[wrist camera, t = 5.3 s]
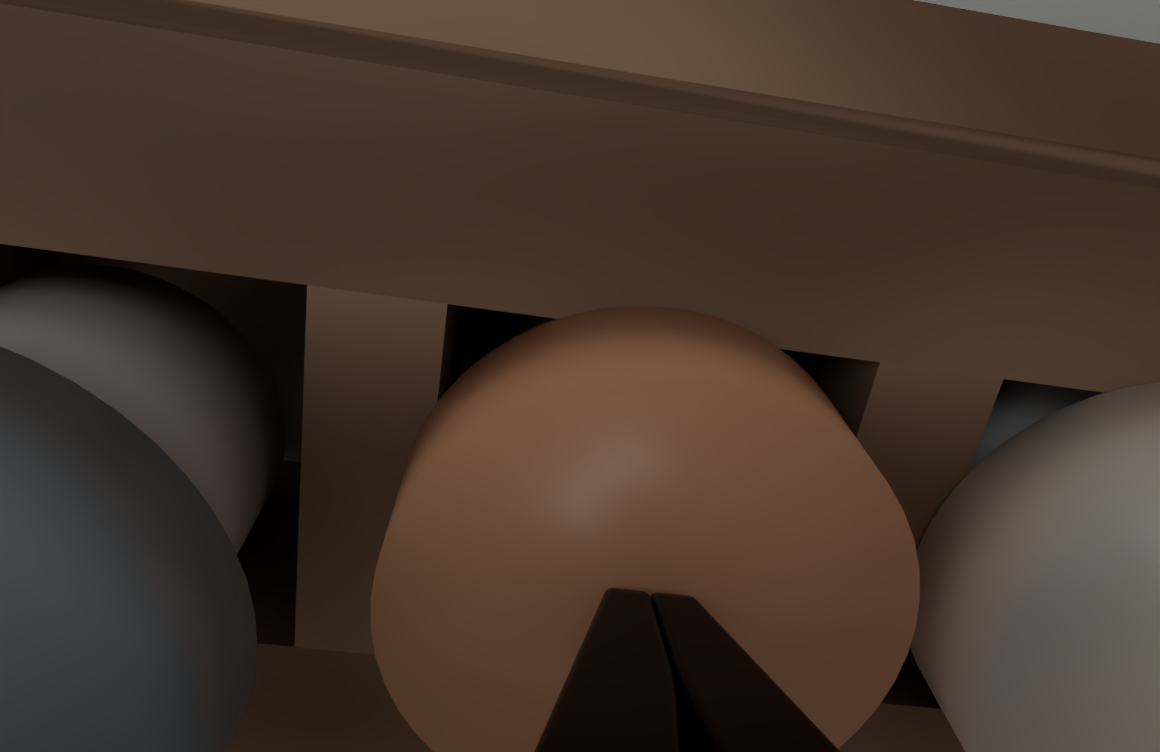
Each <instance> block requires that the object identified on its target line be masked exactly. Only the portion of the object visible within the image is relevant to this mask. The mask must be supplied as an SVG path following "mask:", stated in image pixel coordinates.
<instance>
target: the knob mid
mask: <svg viewBox="0 0 1160 752" xmlns="http://www.w3.org/2000/svg"><path fill="white" fill-rule="evenodd" d="M609 588H622V589H631V590H640V591H644V592H646V593H648V594H649V596H651V595H652V594H654V593H656V592H660V593H669V594H679V595H688V596H692V597H694V598H695V599H696V600H697V601H698V602H699V603H700V604H701V605H702V606H703V607H704V608H705V609H706V610H707V611H708V612H709V613H710V614H711V615H712V616H713V617H714V618H715V619H716V621H717V622H718V623H719V624H720V625H721V626H722V627H723V628H724V629H725V630H726V631H727V632H728V633H729V634H730V635H731V636H732V637H733V638H734V640H735V641H736V642H737V643H738V644H739V645H740V646H741V647H742V648H743V649H744V650H745V651H746V652H747V653H748V654H749V655H750V656H751V657H752V659H753V660H754V661H755V662H756V663H757V664H758V665H759V666H760V667H761V668H762V669H763V670H764V671H765V672H766V673H767V674H768V675H769V676H770V678H771V679H772V680H773V681H774V682H775V683H776V684H777V685H778V686H779V687H780V688H781V689H782V690H783V691H784V692H785V693H786V694H787V695H788V696H789V698H790V699H791V700H792V701H793V702H794V703H795V704H796V705H797V706H798V707H799V708H800V709H801V710H802V711H803V712H804V713H805V714H806V715H807V717H808V718H809V719H810V720H811V721H812V722H813V723H814V724H815V725H816V726H817V727H818V728H819V729H820V730H821V731H822V732H823V733H824V734H825V736H826V737H827V738H828V739H829V740H830V741H831V742H832V743H833V744H834V745H835V746H836V747H837V748H838V749H839V748H840V747H841V746H842V745H843V744H844V743H845V742H846V741H847V740H848V739H849V738H850V737H851V736H853V735H854V734H855V733H856V732H857V731H858V730H859V729H860V728H861V727H862V725H863V724H864V723H865V722H866V721H867V720H868V718H869V717H870V716H871V715H872V714H873V712H874V711H875V710H876V709H877V708H878V706H879V705H880V704H881V702H882V700H883V699H884V697H885V696H886V694H887V693H888V691H889V690H890V688H891V686H892V685H893V683H894V682H895V680H896V678H897V676H898V674H899V672H900V669H901V667H902V665H903V663H904V661H905V659H906V657H907V654H908V651H909V648H910V645H911V641H912V638H913V635H914V631H915V628H916V623H917V616H918V609H919V602H920V568H919V563H918V557H917V552H916V546H915V541H914V537H913V535H912V532H911V529H910V527H909V524H908V521H907V518H906V516H905V513H904V510H903V509H902V507H901V505H900V503H899V502H898V500H897V498H896V496H895V494H894V493H893V491H892V489H891V487H890V486H889V484H888V482H887V481H886V480H885V478H884V477H883V475H882V474H881V472H880V471H879V470H878V468H877V467H876V465H875V464H874V462H873V461H872V460H871V458H870V457H869V455H868V454H867V452H866V451H865V450H864V448H863V447H862V445H861V444H860V442H859V441H858V440H857V438H856V437H855V435H854V434H853V432H852V431H851V430H850V428H849V427H848V425H847V424H846V422H845V421H844V420H843V418H842V417H841V415H840V414H839V412H838V411H837V410H836V408H835V407H834V405H833V404H832V402H831V401H830V400H829V398H828V397H827V396H826V394H825V393H824V392H823V391H822V389H821V388H820V387H819V386H818V384H817V383H816V382H815V381H814V379H813V378H812V377H811V376H810V375H809V374H808V373H807V372H806V371H805V370H804V369H803V368H802V367H801V366H800V365H799V364H797V363H796V362H795V361H794V360H793V359H792V358H791V357H790V356H789V355H787V354H786V353H784V352H783V351H781V350H780V349H778V348H777V347H776V346H774V345H773V344H771V343H770V342H768V341H767V340H765V339H764V338H762V337H760V336H758V335H756V334H754V333H752V332H750V331H748V330H746V329H744V328H742V327H740V326H738V325H735V324H732V323H729V322H726V321H723V320H721V319H718V318H715V317H712V316H709V315H705V314H700V313H695V312H691V311H686V310H681V309H676V308H663V307H650V306H632V307H612V308H604V309H599V310H593V311H587V312H582V313H576V314H573V315H569V316H566V317H563V318H560V319H555V318H547V317H540V316H533V315H525V314H518V313H514V314H513V315H512V317H511V318H510V319H509V320H508V321H507V322H506V324H505V325H504V327H503V328H502V329H501V331H500V332H499V334H498V336H497V338H496V340H495V342H494V343H493V345H492V347H491V350H490V352H489V353H487V354H486V355H485V356H484V357H482V358H481V359H480V360H479V361H477V362H476V363H475V364H474V365H472V366H471V367H470V368H469V369H468V370H466V371H465V372H464V373H463V374H462V375H461V376H460V377H459V378H458V379H457V380H456V381H455V382H454V383H453V384H452V386H451V387H450V388H449V389H448V390H447V391H446V392H445V393H444V394H443V395H442V397H441V398H440V399H439V401H438V402H437V404H436V405H435V407H434V408H433V409H432V411H431V412H430V414H429V415H428V416H427V418H426V419H425V421H424V423H423V425H422V427H421V429H420V431H419V433H418V435H417V437H416V439H415V441H414V443H413V446H412V449H411V452H410V455H409V458H408V461H407V464H406V467H405V470H404V473H403V477H402V480H401V484H400V487H399V490H398V494H397V497H396V501H395V504H394V508H393V511H392V514H391V518H390V521H389V525H388V528H387V531H386V535H385V538H384V542H383V545H382V549H381V552H380V555H379V559H378V562H377V566H376V569H375V575H374V581H373V587H372V594H371V633H372V639H373V645H374V651H375V657H376V660H377V663H378V666H379V669H380V672H381V675H382V678H383V681H384V683H385V686H386V688H387V690H388V691H389V693H390V695H391V697H392V699H393V701H394V703H395V705H396V707H397V709H398V710H399V712H400V713H401V714H402V716H403V717H404V719H405V720H406V721H407V723H408V724H409V725H410V727H411V728H412V729H413V731H414V732H415V733H416V735H417V736H418V737H419V738H420V739H421V740H422V741H423V742H424V743H425V744H426V745H427V746H428V747H429V748H430V749H431V750H432V751H433V752H534V751H535V749H536V746H537V744H538V742H539V740H540V737H541V735H542V733H543V730H544V728H545V726H546V724H547V721H548V719H549V717H550V715H551V712H552V710H553V708H554V706H555V703H556V701H557V699H558V696H559V694H560V692H561V690H562V687H563V685H564V683H565V681H566V678H567V676H568V674H569V672H570V669H571V667H572V665H573V663H574V660H575V658H576V656H577V653H578V651H579V649H580V647H581V644H582V642H583V640H584V638H585V635H586V633H587V631H588V629H589V626H590V624H591V622H592V619H593V617H594V615H595V613H596V610H597V608H598V606H599V604H600V601H601V599H602V597H603V595H604V592H605V591H606V590H607V589H609Z"/></svg>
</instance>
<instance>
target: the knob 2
mask: <svg viewBox="0 0 1160 752" xmlns="http://www.w3.org/2000/svg"><path fill="white" fill-rule="evenodd" d="M916 552H917V557H918V563H919V568H920V602H919V609H918V616H917V623H916V628H915V631H914V635H913V638H912V641H911V645H910V648H911V651H912V653H913V656H914V659H915V661H916V664H917V666H918V668H919V669H920V671H921V673H922V675H923V677H924V678H925V680H926V682H927V684H928V686H929V687H930V689H931V691H932V693H933V695H934V696H935V698H936V700H937V702H938V704H939V705H940V707H941V709H942V711H943V713H944V714H945V716H946V718H947V720H948V722H949V723H950V725H951V727H952V729H953V731H954V733H955V734H956V736H957V738H958V740H959V742H960V743H961V745H962V747H963V749H964V751H965V752H1160V382H1155V383H1149V384H1143V385H1137V386H1131V387H1125V388H1121V389H1117V390H1113V391H1110V392H1106V393H1103V392H1096V391H1088V390H1081V389H1073V388H1066V387H1059V386H1051V385H1044V384H1036V383H1029V382H1022V381H1014V380H1007V379H1003V382H1002V385H1001V387H1000V390H999V393H998V395H997V398H996V401H995V403H994V406H993V408H992V411H991V414H990V416H989V419H988V422H987V424H986V427H985V430H984V432H983V435H982V437H981V440H980V443H979V445H978V448H977V451H976V453H975V456H974V459H973V461H972V464H971V466H970V469H969V472H968V474H967V476H966V477H965V478H964V479H963V480H962V481H961V482H960V483H959V484H958V485H957V486H956V487H955V489H954V490H953V491H952V492H951V494H950V495H949V496H948V498H947V499H946V500H945V501H944V503H943V504H942V505H941V506H940V508H939V509H938V511H937V513H936V514H935V516H934V518H933V519H932V521H931V523H930V524H929V526H928V528H927V529H926V531H925V533H924V535H923V537H922V540H921V542H920V544H919V546H918V549H917V551H916Z"/></svg>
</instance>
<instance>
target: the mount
mask: <svg viewBox="0 0 1160 752" xmlns="http://www.w3.org/2000/svg"><path fill="white" fill-rule="evenodd" d="M74 264H97V265H110V266H116V267H121V268H126V269H131V270H136V271H139V272H142V273H145V274H149V275H152V276H155V277H158V278H160V279H163V280H165V281H167V282H169V283H172V284H174V285H176V286H178V287H181V288H182V289H184V290H186V291H188V292H189V293H191V294H193V295H194V296H196V297H198V298H200V299H201V300H203V301H204V302H205V303H207V304H208V305H209V306H211V307H212V308H214V309H215V310H216V311H218V312H219V313H220V314H221V315H223V316H224V317H225V318H226V319H227V320H228V321H229V322H230V323H231V324H232V325H233V326H234V327H236V328H237V329H238V330H239V332H240V333H241V334H242V335H243V336H244V337H245V339H246V340H247V341H248V342H249V343H250V344H251V346H252V347H253V348H254V350H255V351H256V353H257V354H258V356H259V357H260V359H261V360H262V362H263V363H264V365H265V367H266V369H267V371H268V373H269V375H270V377H271V379H272V381H273V383H274V385H275V388H276V391H277V394H278V397H279V399H280V402H281V407H282V412H283V417H284V424H285V448H284V457H283V462H282V465H281V469H280V473H279V476H278V478H277V481H276V483H275V485H274V487H273V490H272V492H271V494H270V495H269V497H268V499H267V501H266V503H265V505H264V506H263V508H262V510H261V512H260V514H259V516H258V517H257V519H256V521H255V523H254V525H253V526H252V528H251V530H250V532H249V534H248V536H247V537H246V539H245V541H244V543H243V545H242V547H241V548H240V550H239V552H238V554H237V556H238V559H239V561H240V564H241V566H242V569H243V571H244V574H245V576H246V579H247V582H248V586H249V591H250V595H251V599H252V603H253V608H254V612H255V621H256V635H257V655H256V665H255V675H254V680H253V684H252V687H251V691H250V695H249V698H248V702H247V705H246V708H245V711H244V713H243V715H242V718H241V720H240V723H239V725H238V727H237V730H236V732H235V735H234V737H233V739H232V742H231V744H230V747H229V749H228V751H227V752H433V751H432V750H431V749H430V748H429V747H428V746H427V745H426V744H425V743H424V742H423V741H422V740H421V739H420V738H419V737H418V736H417V735H416V733H415V732H414V731H413V729H412V728H411V727H410V725H409V724H408V723H407V721H406V720H405V719H404V717H403V716H402V714H401V713H400V712H399V710H398V709H397V707H396V705H395V703H394V701H393V699H392V697H391V695H390V693H389V691H388V690H387V688H386V686H385V683H384V681H383V678H382V675H381V672H380V669H379V666H378V663H377V660H376V657H375V651H374V645H373V639H372V633H371V594H372V587H373V581H374V575H375V569H376V566H377V562H378V559H379V555H380V552H381V549H382V545H383V542H384V538H385V535H386V531H387V528H388V525H389V521H390V518H391V514H392V511H393V508H394V504H395V501H396V497H397V494H398V490H399V487H400V484H401V480H402V477H403V473H404V470H405V467H406V464H407V461H408V458H409V455H410V452H411V449H412V446H413V443H414V441H415V439H416V437H417V435H418V433H419V431H420V429H421V427H422V425H423V423H424V421H425V419H426V418H427V416H428V415H429V414H430V412H431V411H432V409H433V408H434V407H435V405H436V404H437V402H438V401H439V399H440V398H441V397H442V395H443V394H444V393H445V392H446V391H447V390H448V389H449V388H450V387H451V386H452V384H453V383H454V382H455V381H456V380H457V379H458V378H459V377H460V376H461V375H462V374H463V373H464V372H465V371H466V370H468V369H469V368H470V367H471V366H472V365H474V364H475V363H476V362H477V361H479V360H480V359H481V358H482V357H484V356H485V355H486V354H487V353H489V352H490V350H491V347H492V345H493V343H494V342H495V340H496V338H497V336H498V334H499V332H500V331H501V329H502V328H503V327H504V325H505V324H506V322H507V321H508V320H509V319H510V318H511V317H512V315H513V314H514V313H518V314H525V315H533V316H540V317H547V318H555V319H560V318H563V317H566V316H569V315H573V314H576V313H582V312H587V311H593V310H599V309H604V308H612V307H632V306H650V307H663V308H676V309H681V310H686V311H691V312H695V313H700V314H705V315H709V316H712V317H715V318H718V319H721V320H723V321H726V322H729V323H732V324H735V325H738V326H740V327H742V328H744V329H746V330H748V331H750V332H752V333H754V334H756V335H758V336H760V337H762V338H764V339H765V340H767V341H768V342H770V343H771V344H773V345H774V346H776V347H777V348H778V349H780V350H781V351H783V352H784V353H786V354H787V355H789V356H790V357H791V358H792V359H793V360H794V361H795V362H796V363H797V364H799V365H800V366H801V367H802V368H803V369H804V370H805V371H806V372H807V373H808V374H809V375H810V376H811V377H812V378H813V379H814V381H815V382H816V383H817V384H818V386H819V387H820V388H821V389H822V391H823V392H824V393H825V394H826V396H827V397H828V398H829V400H830V401H831V402H832V404H833V405H834V407H835V408H836V410H837V411H838V412H839V414H840V415H841V417H842V418H843V420H844V421H845V422H846V424H847V425H848V427H849V428H850V430H851V431H852V432H853V434H854V435H855V437H856V438H857V440H858V441H859V442H860V444H861V445H862V447H863V448H864V450H865V451H866V452H867V454H868V455H869V457H870V458H871V460H872V461H873V462H874V464H875V465H876V467H877V468H878V470H879V471H880V472H881V474H882V475H883V477H884V478H885V480H886V481H887V482H888V484H889V486H890V487H891V489H892V491H893V493H894V494H895V496H896V498H897V500H898V502H899V503H900V505H901V507H902V509H903V510H904V513H905V516H906V518H907V521H908V524H909V527H910V529H911V532H912V535H913V537H914V541H915V546H916V551H917V549H918V546H919V544H920V542H921V540H922V537H923V535H924V533H925V531H926V529H927V528H928V526H929V524H930V523H931V521H932V519H933V518H934V516H935V514H936V513H937V511H938V509H939V508H940V506H941V505H942V504H943V503H944V501H945V500H946V499H947V498H948V496H949V495H950V494H951V492H952V491H953V490H954V489H955V487H956V486H957V485H958V484H959V483H960V482H961V481H962V480H963V479H964V478H965V477H966V476H967V474H968V472H969V469H970V466H971V464H972V461H973V459H974V456H975V453H976V451H977V448H978V445H979V443H980V440H981V437H982V435H983V432H984V430H985V427H986V424H987V422H988V419H989V416H990V414H991V411H992V408H993V406H994V403H995V401H996V398H997V395H998V393H999V390H1000V387H1001V385H1002V382H1003V379H1007V380H1014V381H1022V382H1029V383H1036V384H1044V385H1051V386H1059V387H1066V388H1073V389H1081V390H1088V391H1096V392H1103V393H1106V392H1110V391H1113V390H1117V389H1121V388H1125V387H1131V386H1137V385H1143V384H1149V383H1155V382H1160V44H1157V43H1151V42H1145V41H1140V40H1134V39H1128V38H1123V37H1117V36H1111V35H1106V34H1100V33H1094V32H1089V31H1083V30H1077V29H1072V28H1066V27H1061V26H1055V25H1049V24H1044V23H1038V22H1032V21H1027V20H1021V19H1015V18H1010V17H1004V16H998V15H993V14H987V13H982V12H976V11H970V10H965V9H959V8H953V7H948V6H942V5H936V4H931V3H925V2H919V1H914V0H0V287H1V286H2V285H4V284H6V283H8V282H10V281H12V280H14V279H16V278H18V277H20V276H22V275H25V274H29V273H32V272H35V271H38V270H41V269H45V268H50V267H56V266H61V265H74ZM839 750H840V751H841V752H965V751H964V749H963V747H962V745H961V743H960V742H959V740H958V738H957V736H956V734H955V733H954V731H953V729H952V727H951V725H950V723H949V722H948V720H947V718H946V716H945V714H944V713H943V711H942V709H941V707H940V705H939V704H938V702H937V700H936V698H935V696H934V695H933V693H932V691H931V689H930V687H929V686H928V684H927V682H926V680H925V678H924V677H923V675H922V673H921V671H920V669H919V668H918V666H917V664H916V661H915V659H914V656H913V653H912V651H911V648H909V651H908V654H907V657H906V659H905V661H904V663H903V665H902V667H901V669H900V672H899V674H898V676H897V678H896V680H895V682H894V683H893V685H892V686H891V688H890V690H889V691H888V693H887V694H886V696H885V697H884V699H883V700H882V702H881V704H880V705H879V706H878V708H877V709H876V710H875V711H874V712H873V714H872V715H871V716H870V717H869V718H868V720H867V721H866V722H865V723H864V724H863V725H862V727H861V728H860V729H859V730H858V731H857V732H856V733H855V734H854V735H853V736H851V737H850V738H849V739H848V740H847V741H846V742H845V743H844V744H843V745H842V746H841V747H840V748H839Z"/></svg>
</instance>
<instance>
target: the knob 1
mask: <svg viewBox="0 0 1160 752" xmlns="http://www.w3.org/2000/svg"><path fill="white" fill-rule="evenodd" d="M284 448H285V424H284V417H283V412H282V407H281V402H280V399H279V397H278V394H277V391H276V388H275V385H274V383H273V381H272V379H271V377H270V375H269V373H268V371H267V369H266V367H265V365H264V363H263V362H262V360H261V359H260V357H259V356H258V354H257V353H256V351H255V350H254V348H253V347H252V346H251V344H250V343H249V342H248V341H247V340H246V339H245V337H244V336H243V335H242V334H241V333H240V332H239V330H238V329H237V328H236V327H234V326H233V325H232V324H231V323H230V322H229V321H228V320H227V319H226V318H225V317H224V316H223V315H221V314H220V313H219V312H218V311H216V310H215V309H214V308H212V307H211V306H209V305H208V304H207V303H205V302H204V301H203V300H201V299H200V298H198V297H196V296H194V295H193V294H191V293H189V292H188V291H186V290H184V289H182V288H181V287H178V286H176V285H174V284H172V283H169V282H167V281H165V280H163V279H160V278H158V277H155V276H152V275H149V274H145V273H142V272H139V271H136V270H131V269H126V268H121V267H116V266H110V265H97V264H74V265H61V266H56V267H50V268H45V269H41V270H38V271H35V272H32V273H29V274H25V275H22V276H20V277H18V278H16V279H14V280H12V281H10V282H8V283H6V284H4V285H2V286H1V287H0V752H227V751H228V749H229V747H230V744H231V742H232V739H233V737H234V735H235V732H236V730H237V727H238V725H239V723H240V720H241V718H242V715H243V713H244V711H245V708H246V705H247V702H248V698H249V695H250V691H251V687H252V684H253V680H254V675H255V665H256V655H257V635H256V621H255V612H254V608H253V603H252V599H251V595H250V591H249V586H248V582H247V579H246V576H245V574H244V571H243V569H242V566H241V564H240V561H239V559H238V556H237V554H238V552H239V550H240V548H241V547H242V545H243V543H244V541H245V539H246V537H247V536H248V534H249V532H250V530H251V528H252V526H253V525H254V523H255V521H256V519H257V517H258V516H259V514H260V512H261V510H262V508H263V506H264V505H265V503H266V501H267V499H268V497H269V495H270V494H271V492H272V490H273V487H274V485H275V483H276V481H277V478H278V476H279V473H280V469H281V465H282V462H283V457H284Z"/></svg>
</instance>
